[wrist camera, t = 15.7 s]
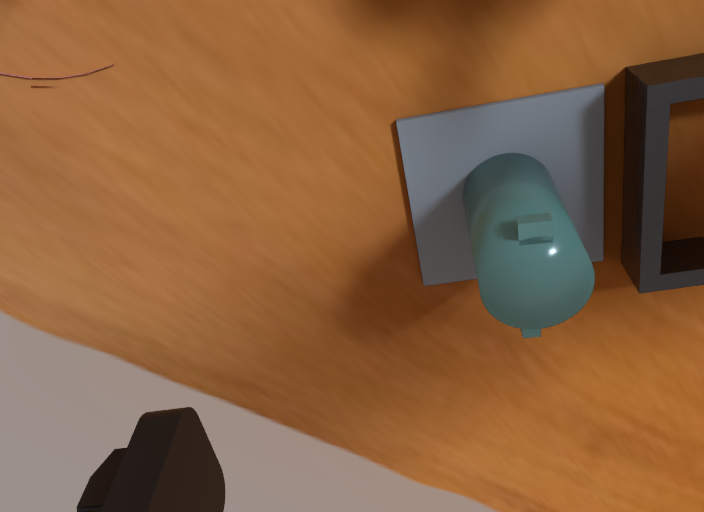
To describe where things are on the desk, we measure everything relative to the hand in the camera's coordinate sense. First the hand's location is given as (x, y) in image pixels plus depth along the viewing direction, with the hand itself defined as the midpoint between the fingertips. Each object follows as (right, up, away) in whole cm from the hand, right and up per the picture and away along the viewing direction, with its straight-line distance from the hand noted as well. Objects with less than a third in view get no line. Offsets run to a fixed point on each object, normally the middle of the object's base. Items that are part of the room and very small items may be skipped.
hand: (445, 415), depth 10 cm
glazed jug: (+8, +6, +31) cm, 32 cm away
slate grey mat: (+8, +6, +31) cm, 33 cm away
